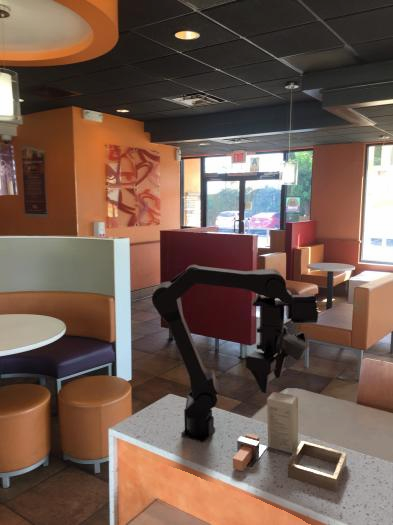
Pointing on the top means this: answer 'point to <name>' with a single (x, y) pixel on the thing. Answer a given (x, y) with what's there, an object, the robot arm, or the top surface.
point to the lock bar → (244, 454)
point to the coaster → (279, 451)
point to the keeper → (257, 449)
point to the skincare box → (282, 421)
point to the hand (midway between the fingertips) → (271, 384)
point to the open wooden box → (312, 475)
